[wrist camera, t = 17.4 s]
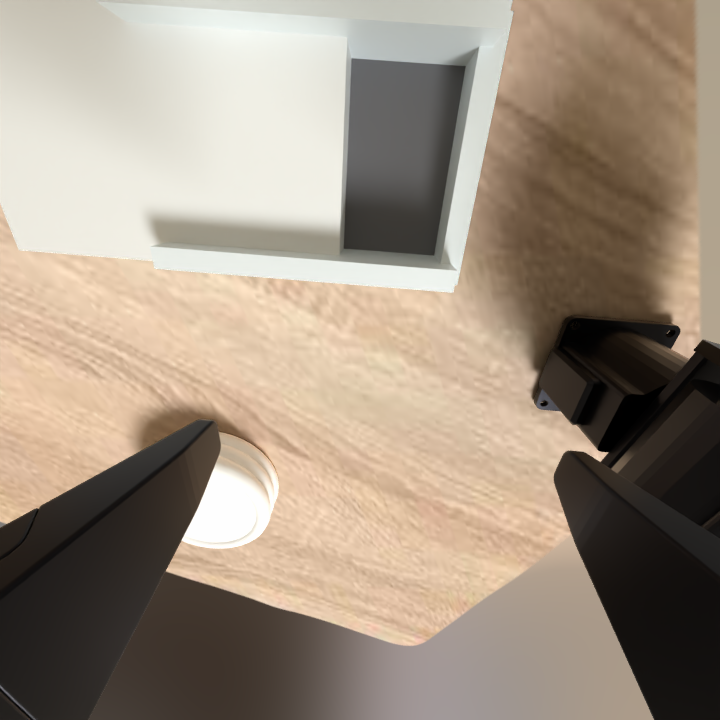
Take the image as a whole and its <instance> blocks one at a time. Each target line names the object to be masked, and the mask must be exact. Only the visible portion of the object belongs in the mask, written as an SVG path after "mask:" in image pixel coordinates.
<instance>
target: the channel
mask: <svg viewBox="0 0 720 720" xmlns="http://www.w3.org/2000/svg"><path fill="white" fill-rule="evenodd" d="M512 1H513V0H0V204H1V207H2V209H3V212H4V214H5V217H6V219H7V222H8V224H9V227H10V229H11V232H12V234H13V237H14V239H15V242H16V244H17V247H18V249H19V250H22V251H35V252H47V253H60V254H72V255H85V256H97V257H110V258H122V259H135V260H147V261H153V264H154V268H155V269H165V270H178V271H190V272H202V273H215V274H227V275H240V276H252V277H265V278H277V279H290V280H302V281H314V282H327V283H339V284H352V285H364V286H377V287H389V288H402V289H414V290H426V291H439V292H451V293H453V291H454V286H455V285H457V284H458V279H459V274H460V269H461V264H462V259H463V255H464V250H465V245H466V240H467V235H468V230H469V226H470V221H471V216H472V211H473V206H474V201H475V197H476V192H477V187H478V182H479V177H480V172H481V168H482V163H483V158H484V153H485V148H486V143H487V139H488V134H489V129H490V124H491V119H492V114H493V110H494V105H495V100H496V95H497V90H498V85H499V80H500V76H501V71H502V66H503V61H504V56H505V51H506V47H507V42H508V37H509V32H510V27H511V22H512V18H513V13H514V11H511V6H512Z"/></svg>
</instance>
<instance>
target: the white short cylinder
mask: <svg viewBox="0 0 720 720" xmlns="http://www.w3.org/2000/svg"><path fill="white" fill-rule="evenodd" d="M219 436H220V442H221V450H220V454H219V457H218V459H217V462H216V464H215V467H214V469H213V472H212V474H211V477H210V479H209V482H208V485H207V487H206V490H205V492H204V495H203V497H202V500H201V502H200V505H199V507H198V509H197V511H196V513H195V515H194V517H193V519H192V521H191V523H190V525H189V527H188V529H187V531H186V533H185V535H184V537H183V538H182V540H181V541H184V542H186V543H189V544H192V545H196V546H201V547H206V548H232V547H237V546H240V545H243V544H246V543H249V542H251V541H252V540H254V539H256V538H257V537H258V536H259V535H260V534H261V533H262V532H263V531H264V529H265V528H266V526H267V525H268V523H269V520H270V515H271V513H272V510H273V508H274V504H275V501H276V499H277V496H278V491H279V482H278V476H277V473H276V470H275V468H274V467H273V465H272V463H271V462H270V460H269V459H268V458H267V457H266V456H265V455H264V454H263V453H262V452H261V451H260V450H259V449H258V448H256V447H255V446H253V445H252V444H250V443H249V442H247V441H245V440H243V439H241V438H238V437H236V436H233V435H230V434H227V433H222V432H219Z"/></svg>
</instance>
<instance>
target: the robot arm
mask: <svg viewBox="0 0 720 720" xmlns="http://www.w3.org/2000/svg"><path fill="white" fill-rule="evenodd" d="M574 322H576V325H575V326H573V327H571V324H572V323H574ZM669 330H670V332H669V333H668V334H666V333H667V332H668V331H669ZM679 334H680V328H679V327H678V326H676V325H674V324H671V323H662V322H650V321H638V320H625V319H613V318H601V317H588V316H576V315H574V316H570V317H568V318H566V319H565V321H564V322H563V325H562V327H561V330H560V333H559V335H558V338H557V340H556V343H555V346H554V348H553V349H552V350H551V352H550V354H549V357H548V360H547V362H546V365H545V368H544V370H543V373H542V376H541V378H540V381H539V388H538V391H537V393H536V396H535V399H534V403H535V405H536V406H537V408H539V409H541V410H552V411H561V412H562V413H563V414H564V416H565V417H566V418H567V419H568V421H569V422H570V423H571V424H572V425H577V426H578V427H579V428H580V429H581V431H582V432H583V433H584V434H585V435H586V437H587V438H588V439H589V440H590V441H591V442H592V444H593V445H594V446H595V447H596V448H597V449H598V451H601V452H609V453H608V454H607V455H606V456H605V457H604V459H603V460H602V461H601V462H599V461H598V460H596V459H594V458H593V457H591V456H590V455H588V454H587V453H584V452H579V451H566V452H565V453H564V454H563V456H562V458H561V460H560V462H559V464H558V467H557V469H556V471H555V473H554V483H555V487H556V490H557V493H558V495H559V498H560V501H561V504H562V507H563V510H564V513H565V516H566V519H567V522H568V525H569V528H570V531H571V534H572V536H573V539H574V542H575V544H576V547H577V549H578V551H579V554H580V556H581V558H582V560H583V562H584V565H585V567H586V569H587V571H588V574H589V576H590V578H591V580H592V583H593V585H594V587H595V589H596V592H597V594H598V596H599V598H600V600H601V603H602V605H603V607H604V609H605V611H606V614H607V616H608V618H609V620H610V623H611V625H612V627H613V629H614V632H615V634H616V636H617V638H618V641H619V642H620V645H621V647H622V649H623V652H624V654H625V656H626V658H627V661H628V663H629V665H630V667H631V669H632V672H633V674H634V676H635V678H636V681H637V683H638V685H639V687H640V690H641V692H642V694H643V696H644V698H645V701H646V703H647V705H648V707H649V709H650V712H651V714H652V716H653V718H654V720H720V344H716V343H713V342H710V341H707V340H702V341H701V342H700V343H699V344H698V346H697V347H696V348H695V349H694V351H695V353H694V355H693V356H692V357H691V358H690V359H688V358H686V357H684V356H682V355H681V354H679V353H677V352H675V351H673V350H671V348H672V346H673V345H674V343H675V341H676V339H677V338H678V336H679ZM543 400H545V402H543V403H541V402H542V401H543ZM220 450H221V442H220V436H219V430H218V425H217V422H216V421H214V420H208V419H199V420H196V421H195V422H193V423H191V424H189V425H187V426H185V427H184V428H182V429H180V430H178V431H176V432H175V433H173V434H171V435H169V436H167V437H165V438H164V439H162V440H160V441H158V442H156V443H154V444H153V445H151V446H149V447H147V448H145V449H143V450H142V451H140V452H138V453H136V454H134V455H133V456H131V457H129V458H127V459H125V460H123V461H122V462H120V463H118V464H116V465H114V466H112V467H111V468H109V469H107V470H105V471H103V472H102V473H100V474H98V475H96V476H94V477H92V478H91V479H89V480H87V481H85V482H83V483H81V484H80V485H78V486H76V487H74V488H72V489H70V490H69V491H67V492H65V493H63V494H61V495H59V496H58V497H56V498H54V499H52V500H50V501H48V502H47V503H45V504H43V505H41V506H40V508H39V509H38V508H36V509H34V510H32V511H30V512H28V513H26V514H25V515H23V516H21V517H19V518H17V519H16V520H14V521H12V522H10V523H8V524H6V525H4V526H3V527H1V528H0V720H88V719H89V718H90V715H91V714H92V712H93V710H94V708H95V706H96V704H97V702H98V700H99V698H100V696H101V694H102V692H103V691H104V689H105V687H106V685H107V683H108V681H109V679H110V677H111V675H112V673H113V671H114V669H115V667H116V666H117V664H118V662H119V659H120V658H121V656H122V654H123V652H124V650H125V648H126V646H127V644H128V642H129V640H130V638H131V637H132V635H133V633H134V631H135V629H136V627H137V625H138V623H139V621H140V619H141V617H142V615H143V613H144V611H145V610H146V608H147V606H148V604H149V602H150V600H151V598H152V596H153V594H154V592H155V590H156V588H157V587H158V585H159V583H160V581H161V579H162V577H163V575H164V573H165V571H166V569H167V567H168V565H169V564H170V562H171V560H172V558H173V556H174V554H175V552H176V550H177V548H178V546H179V544H180V542H181V540H182V538H183V537H184V535H185V533H186V531H187V529H188V527H189V525H190V523H191V521H192V519H193V517H194V515H195V513H196V511H197V509H198V507H199V505H200V502H201V500H202V497H203V495H204V492H205V490H206V487H207V485H208V482H209V479H210V477H211V474H212V472H213V469H214V467H215V464H216V462H217V459H218V457H219V454H220Z"/></svg>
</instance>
